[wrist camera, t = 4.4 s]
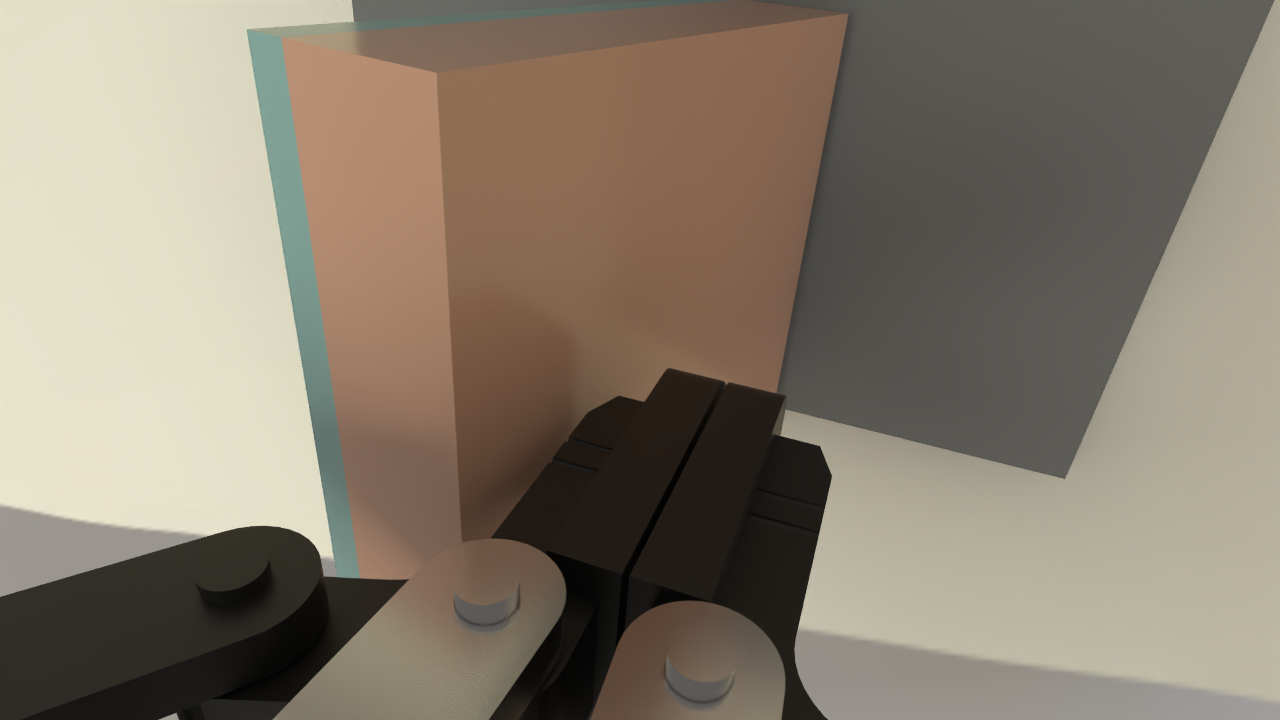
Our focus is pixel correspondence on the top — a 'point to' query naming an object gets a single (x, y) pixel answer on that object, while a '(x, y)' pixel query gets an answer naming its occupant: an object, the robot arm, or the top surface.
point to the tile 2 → (528, 235)
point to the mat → (988, 205)
